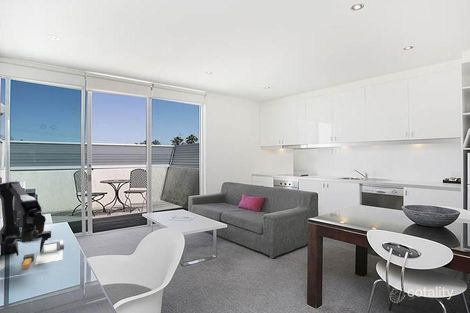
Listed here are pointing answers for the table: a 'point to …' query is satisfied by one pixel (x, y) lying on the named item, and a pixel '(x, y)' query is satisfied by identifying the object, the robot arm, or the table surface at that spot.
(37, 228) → the coffee mug
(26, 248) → the table surface
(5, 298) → the table surface
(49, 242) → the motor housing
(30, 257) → the plug
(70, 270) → the table surface
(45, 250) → the mount plate
